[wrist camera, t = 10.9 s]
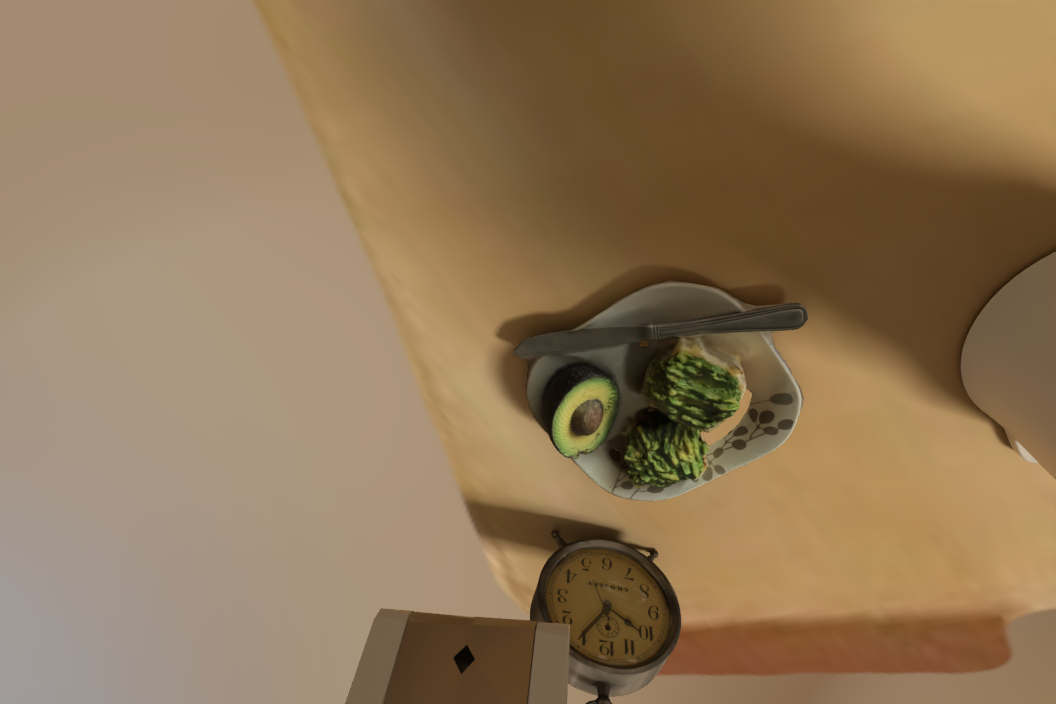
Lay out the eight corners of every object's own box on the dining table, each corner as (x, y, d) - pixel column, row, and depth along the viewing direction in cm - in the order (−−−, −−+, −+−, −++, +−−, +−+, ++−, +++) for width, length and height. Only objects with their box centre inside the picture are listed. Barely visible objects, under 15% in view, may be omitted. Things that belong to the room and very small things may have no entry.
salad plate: (737, 195, 38) (751, 225, 34) (864, 400, 44) (888, 444, 40) (485, 350, 45) (473, 389, 42) (625, 504, 52) (626, 550, 48)
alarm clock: (675, 541, 53) (697, 749, 40) (655, 581, 56) (670, 787, 43) (546, 513, 53) (525, 712, 40) (533, 555, 56) (509, 753, 43)
